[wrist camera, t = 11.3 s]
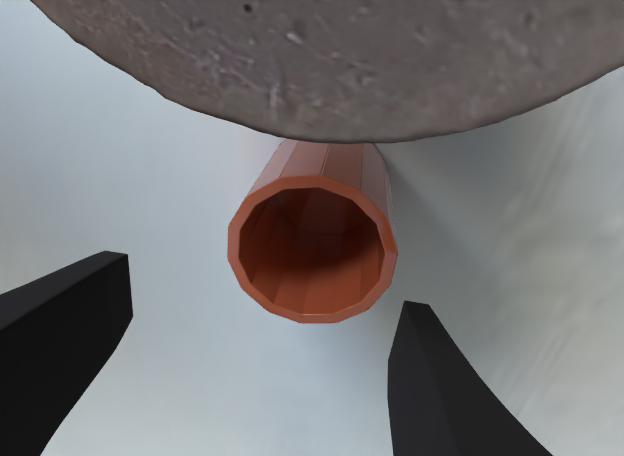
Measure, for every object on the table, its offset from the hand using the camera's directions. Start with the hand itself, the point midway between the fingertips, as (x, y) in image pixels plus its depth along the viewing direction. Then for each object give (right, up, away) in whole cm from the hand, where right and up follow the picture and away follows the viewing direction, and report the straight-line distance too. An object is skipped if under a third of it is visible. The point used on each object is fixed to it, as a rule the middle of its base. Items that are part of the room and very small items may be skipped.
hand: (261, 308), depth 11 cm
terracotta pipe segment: (+2, +4, +8) cm, 10 cm away
